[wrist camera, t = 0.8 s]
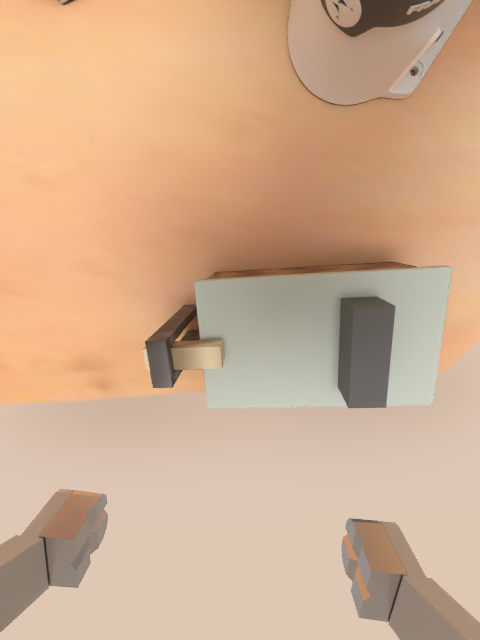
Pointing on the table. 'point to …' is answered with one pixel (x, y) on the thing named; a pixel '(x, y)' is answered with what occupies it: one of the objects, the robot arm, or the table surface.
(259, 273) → the toolbox
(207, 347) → the light wooden beam
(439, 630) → the robot arm
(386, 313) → the lid
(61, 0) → the candy bar box
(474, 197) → the table surface
